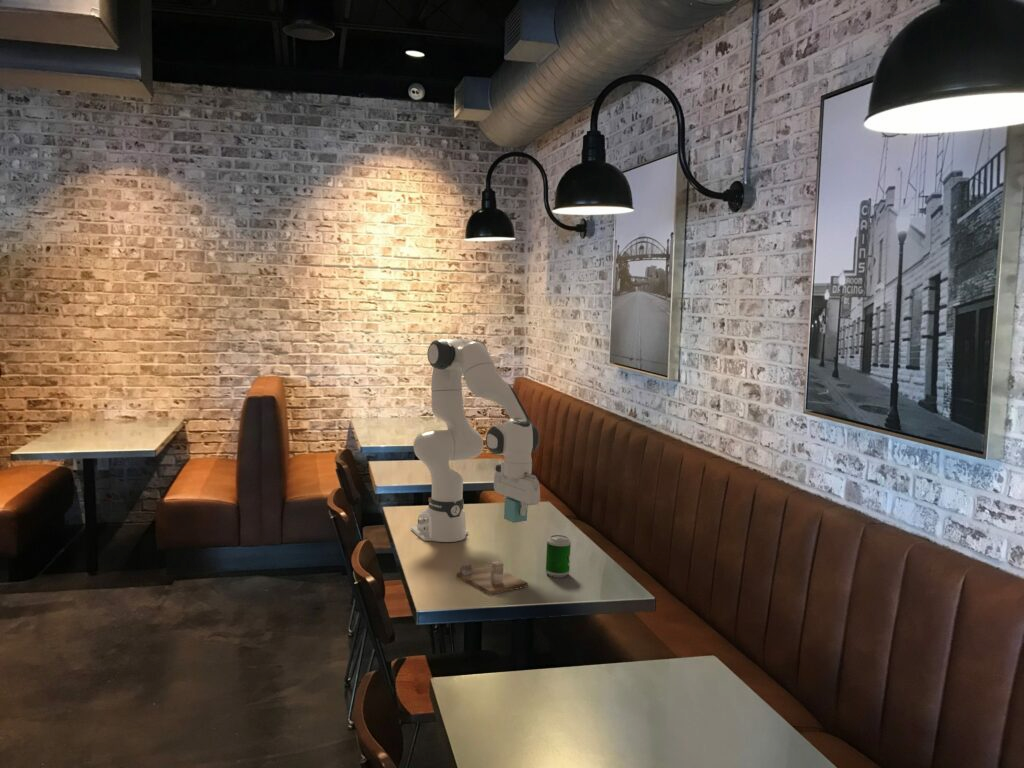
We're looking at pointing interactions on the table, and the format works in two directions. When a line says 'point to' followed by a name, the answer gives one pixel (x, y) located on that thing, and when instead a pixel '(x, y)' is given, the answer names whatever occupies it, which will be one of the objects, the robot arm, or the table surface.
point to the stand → (490, 578)
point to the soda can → (558, 555)
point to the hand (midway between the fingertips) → (515, 512)
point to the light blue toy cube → (513, 511)
